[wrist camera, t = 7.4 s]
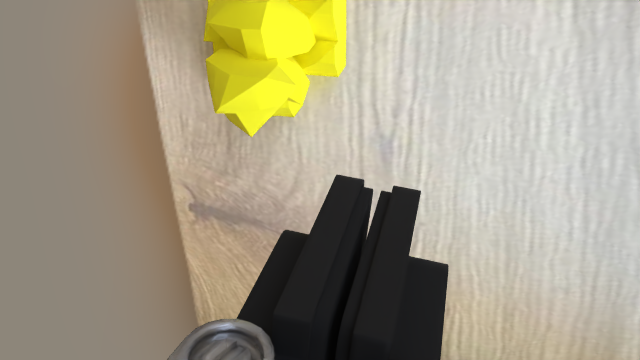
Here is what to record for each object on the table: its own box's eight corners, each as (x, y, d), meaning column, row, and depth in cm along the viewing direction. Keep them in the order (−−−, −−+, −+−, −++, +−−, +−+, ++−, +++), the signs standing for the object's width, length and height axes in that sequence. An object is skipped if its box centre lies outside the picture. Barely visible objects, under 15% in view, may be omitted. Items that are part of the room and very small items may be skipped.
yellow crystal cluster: (346, -72, 23) (292, -42, 17) (345, 107, 27) (301, 187, 21) (215, -73, 25) (118, -46, 18) (232, 98, 29) (158, 171, 22)
